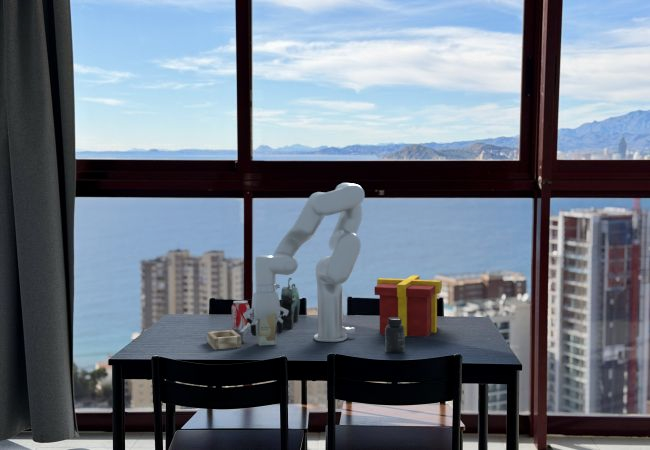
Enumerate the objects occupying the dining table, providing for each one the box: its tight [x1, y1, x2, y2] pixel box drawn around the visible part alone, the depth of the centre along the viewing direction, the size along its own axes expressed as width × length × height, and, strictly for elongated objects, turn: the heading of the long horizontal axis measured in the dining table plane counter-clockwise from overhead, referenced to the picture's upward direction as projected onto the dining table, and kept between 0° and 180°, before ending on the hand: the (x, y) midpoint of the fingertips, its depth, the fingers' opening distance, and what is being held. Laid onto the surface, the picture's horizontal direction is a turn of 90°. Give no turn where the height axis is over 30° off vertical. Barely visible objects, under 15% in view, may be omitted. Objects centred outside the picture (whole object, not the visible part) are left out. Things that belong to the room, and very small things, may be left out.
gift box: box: [374, 274, 443, 338], centre depth 340 cm, size 25×25×20 cm
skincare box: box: [256, 313, 276, 346], centre depth 319 cm, size 6×4×12 cm
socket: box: [206, 329, 242, 351], centre depth 319 cm, size 10×12×4 cm
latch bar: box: [240, 320, 258, 336], centre depth 326 cm, size 11×4×2 cm
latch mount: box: [234, 329, 245, 344], centre depth 325 cm, size 3×6×4 cm, turn 20°
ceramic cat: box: [280, 277, 301, 330], centre depth 353 cm, size 20×6×20 cm, turn 171°
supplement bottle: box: [384, 317, 406, 355], centre depth 306 cm, size 7×7×12 cm
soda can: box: [231, 299, 251, 331], centre depth 343 cm, size 7×7×12 cm
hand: (266, 334), depth 319 cm, fingers open, 9 cm apart
